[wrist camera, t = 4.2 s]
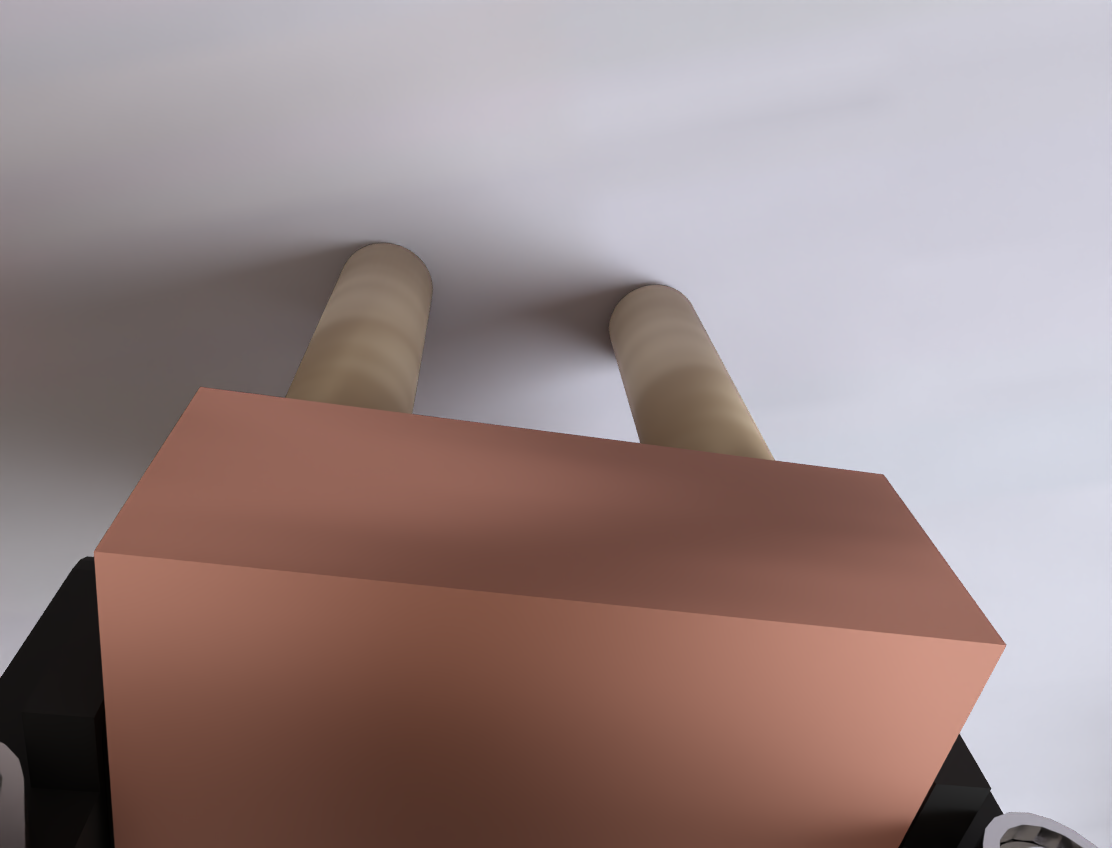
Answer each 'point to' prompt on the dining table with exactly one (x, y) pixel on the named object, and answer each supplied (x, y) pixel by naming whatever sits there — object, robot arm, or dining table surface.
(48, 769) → the robot arm
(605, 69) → the dining table surface
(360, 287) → the stool
